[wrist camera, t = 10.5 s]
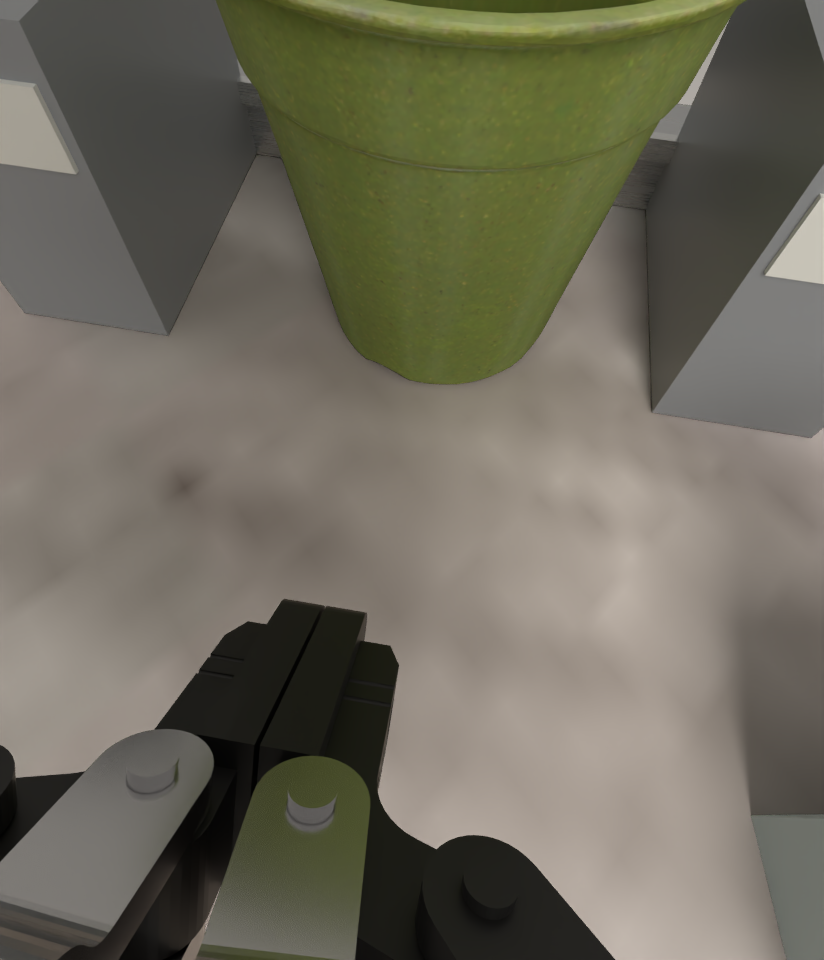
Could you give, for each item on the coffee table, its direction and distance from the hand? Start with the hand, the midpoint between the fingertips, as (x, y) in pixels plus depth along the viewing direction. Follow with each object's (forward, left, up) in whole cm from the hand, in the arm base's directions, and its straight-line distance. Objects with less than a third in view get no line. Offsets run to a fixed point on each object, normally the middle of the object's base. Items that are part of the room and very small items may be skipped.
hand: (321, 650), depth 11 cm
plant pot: (0, +13, -5) cm, 14 cm away
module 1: (-11, +15, -4) cm, 19 cm away
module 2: (+10, +15, -4) cm, 19 cm away
